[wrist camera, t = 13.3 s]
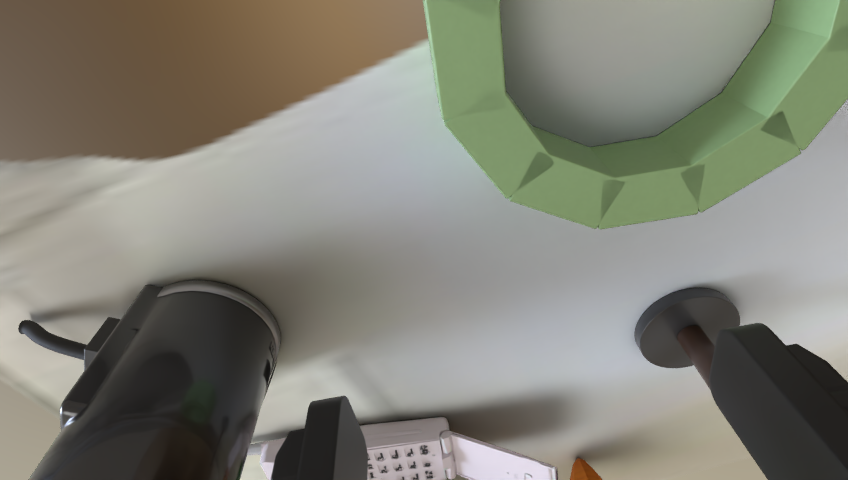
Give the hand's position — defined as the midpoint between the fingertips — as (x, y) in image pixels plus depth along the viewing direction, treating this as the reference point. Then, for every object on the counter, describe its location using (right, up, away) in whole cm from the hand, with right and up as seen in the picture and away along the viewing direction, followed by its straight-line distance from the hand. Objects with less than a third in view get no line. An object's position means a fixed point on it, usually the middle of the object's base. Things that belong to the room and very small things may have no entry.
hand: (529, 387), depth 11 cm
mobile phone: (-5, -14, +31) cm, 34 cm away
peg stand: (+17, -3, +25) cm, 30 cm away
